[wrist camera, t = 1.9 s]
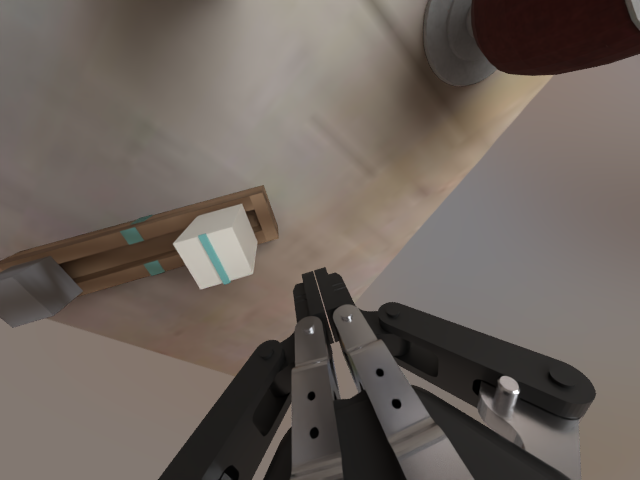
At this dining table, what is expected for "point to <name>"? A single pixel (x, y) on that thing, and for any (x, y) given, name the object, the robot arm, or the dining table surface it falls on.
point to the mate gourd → (527, 36)
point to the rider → (218, 246)
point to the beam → (111, 257)
